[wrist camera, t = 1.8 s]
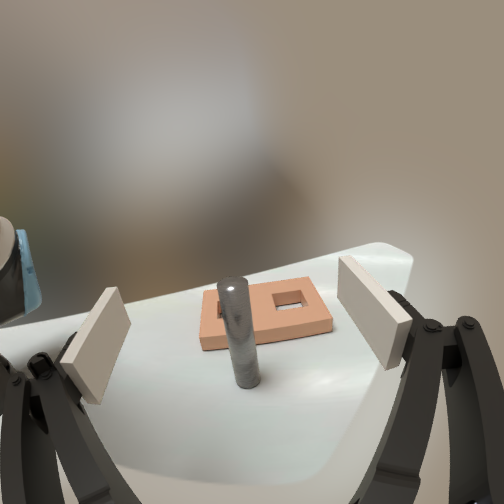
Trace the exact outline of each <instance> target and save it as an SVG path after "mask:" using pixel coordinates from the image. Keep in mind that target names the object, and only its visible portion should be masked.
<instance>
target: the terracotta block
mask: <svg viewBox="0 0 504 504" xmlns="http://www.w3.org/2000/svg"><path fill="white" fill-rule="evenodd" d="M248 287H249V295H250V303H251V311H252V319H253V327H254V335H255V343H256V344H262V343H269V342H275V341H281V340H288V339H293V338H299V337H305V336H310V335H315V334H320V333H325V332H330V331H332V321H333V318H332V316H331V314H330V312H329V311H328V309H327V307H326V305H325V304H324V302H323V300H322V299H321V297H320V295H319V293H318V292H317V290H316V288H315V287H314V285H313V283H312V282H311V280H310V278H309V277H302V278H295V279H288V280H281V281H274V282H267V283H260V284H253V285H248ZM297 302H301V303H302V305H303V307H299V308H293V309H286V310H280V311H276V307H275V306H278V305H285V304H291V303H297ZM220 313H222V311H221V306H220V301H219V295H218V290H217V289H214V290H205V291H204V293H203V302H202V312H201V322H200V333H199V339H200V343H201V346H202V350H213V349H222V348H229V346H228V341H227V336H226V331H225V326H224V321H223V318H221V319H220Z"/></svg>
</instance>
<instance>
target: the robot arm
mask: <svg viewBox="0 0 504 504" xmlns="http://www.w3.org/2000/svg"><path fill="white" fill-rule="evenodd" d="M337 298H338V299H339V301H340V302H341V304H342V305H343V307H344V308H345V310H346V311H347V312H348V314H349V315H350V317H351V318H352V320H353V321H354V323H355V324H356V326H357V327H358V329H359V331H360V332H361V334H362V335H363V337H364V338H365V340H366V341H367V343H368V344H369V346H370V347H371V349H372V351H373V352H374V354H375V355H376V357H377V358H378V360H379V362H380V363H381V365H382V366H383V368H384V369H385V371H386V370H389V369H392V368H394V367H397V366H399V364H400V361H401V358H402V357H403V359H404V360H405V361H406V364H405V367H404V369H403V372H402V375H401V382H400V385H399V388H398V392H397V395H396V398H395V401H394V405H393V407H392V411H391V414H390V416H389V419H388V422H387V425H386V427H385V430H384V433H383V435H382V438H381V440H380V443H379V445H378V447H377V450H376V452H375V454H374V457H373V459H372V461H371V463H370V466H369V468H368V470H367V472H366V474H365V476H364V478H363V480H362V482H361V484H360V486H359V488H358V490H357V491H356V493H355V495H354V496H353V498H352V499H351V501H350V503H349V504H413V502H414V500H415V497H416V495H417V492H418V489H419V486H420V480H421V479H420V477H419V471H420V468H421V465H422V462H423V459H424V455H425V451H426V448H427V444H428V441H429V437H430V432H431V428H432V424H433V418H434V414H435V409H436V404H437V398H438V391H439V385H440V377H441V370H442V376H443V382H444V388H445V396H446V404H447V413H448V424H449V440H450V485H449V504H504V390H503V386H502V383H501V380H500V376H499V373H498V370H497V367H496V364H495V362H494V359H493V356H492V353H491V350H490V348H489V346H488V343H487V340H486V338H485V335H484V333H483V330H482V328H481V326H480V324H479V322H478V321H477V320H476V319H474V318H473V317H470V316H462V317H460V318H458V320H457V322H456V325H455V326H447V327H443V325H442V324H441V323H440V322H438V321H436V320H433V319H424V317H422V315H421V314H420V313H419V312H418V311H417V310H416V309H415V308H414V307H413V306H412V305H410V303H409V302H408V301H406V299H405V298H404V297H403V296H402V295H401V294H399V293H397V292H395V291H393V290H391V291H386V290H385V289H384V288H383V287H382V286H381V285H380V284H379V283H378V282H377V281H376V280H375V279H374V278H373V277H372V276H371V275H370V274H369V273H368V272H367V271H366V270H365V269H364V268H363V267H362V266H361V265H360V264H359V263H358V262H357V261H356V260H355V259H354V258H353V257H352V256H351V255H349V256H342V257H339V268H338V291H337ZM41 301H42V296H41V292H40V288H39V285H38V281H37V277H36V274H35V270H34V266H33V262H32V258H31V253H30V249H29V244H28V239H27V235H26V232H25V230H16V231H14V228H13V226H12V225H11V223H10V221H9V220H7V219H6V218H4V217H1V216H0V327H1V326H2V325H5V324H7V323H9V322H11V321H14V320H16V319H18V318H20V317H23V316H26V315H27V313H29V312H31V311H33V310H34V309H36V308H38V307H39V306H40V304H41ZM130 326H131V323H130V320H129V317H128V315H127V312H126V310H125V307H124V304H123V302H122V299H121V296H120V293H119V290H118V287H110V288H106V290H105V291H104V293H103V294H102V295H101V297H100V298H99V300H98V301H97V303H96V304H95V306H94V307H93V309H92V310H91V312H90V313H89V315H88V316H87V318H86V319H85V321H84V323H83V324H82V326H81V327H80V329H79V331H78V332H75V333H74V334H73V335H72V336H71V337H69V339H68V341H67V342H66V345H65V346H64V347H63V350H61V352H60V354H59V356H58V357H57V359H56V361H55V362H54V364H53V362H52V360H51V359H50V357H49V356H48V354H47V353H45V352H41V353H38V354H36V355H34V356H33V357H32V358H31V359H30V360H29V362H28V364H27V367H28V369H29V370H30V372H31V373H32V375H33V376H34V377H35V378H33V379H28V378H27V377H26V376H25V374H24V373H22V372H16V371H15V369H14V368H13V366H12V365H11V363H10V362H9V361H8V360H7V359H6V358H5V357H4V356H3V355H1V354H0V416H1V415H2V414H3V416H2V426H1V442H0V478H1V492H2V501H3V504H65V502H64V498H63V493H62V489H61V483H60V478H59V472H58V466H57V459H56V452H57V454H58V457H59V460H60V462H61V464H62V467H63V469H64V472H65V474H66V476H67V478H68V481H69V483H70V485H71V487H72V489H73V491H74V493H75V495H76V497H77V499H78V502H79V504H142V503H141V502H140V501H139V499H138V498H137V497H136V495H135V494H134V493H133V491H132V490H131V488H130V487H129V486H128V484H127V483H126V481H125V480H124V478H123V477H122V475H121V474H120V472H119V471H118V469H117V468H116V466H115V464H114V463H113V461H112V460H111V458H110V456H109V455H108V453H107V451H106V450H105V448H104V446H103V444H102V442H101V441H100V439H99V437H98V435H97V433H96V431H95V429H94V427H93V426H92V424H91V422H90V419H89V417H88V415H87V413H86V411H85V409H84V407H83V405H82V404H81V402H80V399H81V396H83V398H84V399H85V400H86V402H87V403H90V404H101V401H102V398H103V395H104V392H105V389H106V386H107V384H108V381H109V378H110V376H111V373H112V370H113V368H114V365H115V362H116V360H117V357H118V355H119V352H120V350H121V347H122V345H123V342H124V340H125V337H126V335H127V333H128V330H129V328H130ZM29 414H30V415H29ZM55 449H56V451H55Z"/></svg>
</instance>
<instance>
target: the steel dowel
mask: <svg viewBox="0 0 504 504" xmlns="http://www.w3.org/2000/svg"><path fill="white" fill-rule="evenodd" d="M217 290H218V295H219V301H220V306H221V311H222V316H223V321H224V326H225V331H226V336H227V341H228V346H229V351H230V356H231V360H232V365H233V369H234V374H235V378H236V382H237V384H238V385H239V386H240V387H242V388H252V387H254V386H256V385H257V384H258V383H259V381H260V374H259V367H258V359H257V351H256V343H255V335H254V327H253V319H252V311H251V303H250V295H249V287H248V281H247V279H245V278H243V277H239V276H233V277H228V278H224V279H222V280H220V281H219V282H218V283H217Z"/></svg>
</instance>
